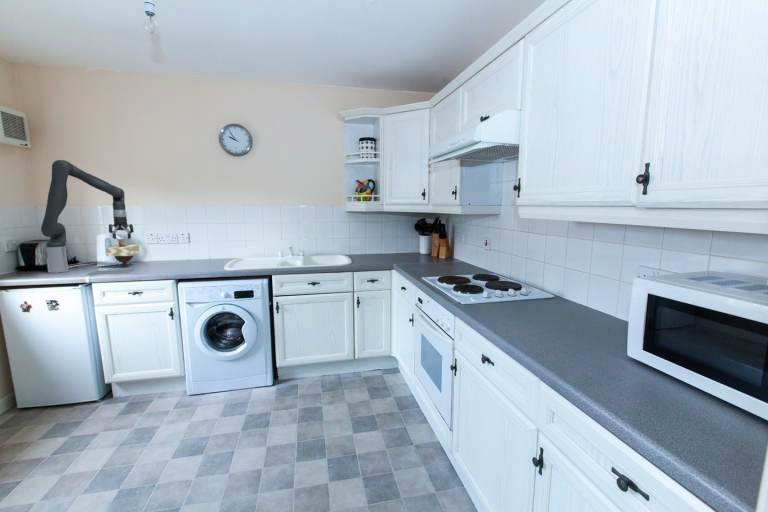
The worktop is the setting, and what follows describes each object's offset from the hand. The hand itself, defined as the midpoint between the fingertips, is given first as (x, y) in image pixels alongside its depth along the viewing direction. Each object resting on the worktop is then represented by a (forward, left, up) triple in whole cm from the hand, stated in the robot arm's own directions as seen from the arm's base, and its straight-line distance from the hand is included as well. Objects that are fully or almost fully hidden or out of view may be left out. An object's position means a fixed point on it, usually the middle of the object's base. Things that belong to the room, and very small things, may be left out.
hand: (122, 238), depth 248 cm
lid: (0, 0, -11) cm, 11 cm away
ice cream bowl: (0, 0, -21) cm, 21 cm away
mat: (-1, -19, -21) cm, 28 cm away
